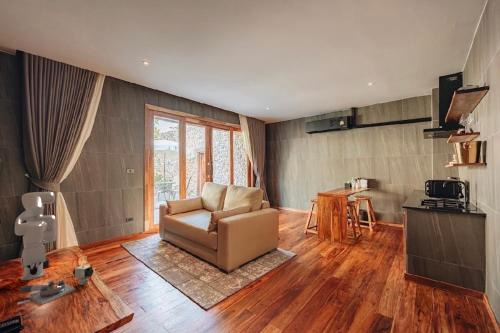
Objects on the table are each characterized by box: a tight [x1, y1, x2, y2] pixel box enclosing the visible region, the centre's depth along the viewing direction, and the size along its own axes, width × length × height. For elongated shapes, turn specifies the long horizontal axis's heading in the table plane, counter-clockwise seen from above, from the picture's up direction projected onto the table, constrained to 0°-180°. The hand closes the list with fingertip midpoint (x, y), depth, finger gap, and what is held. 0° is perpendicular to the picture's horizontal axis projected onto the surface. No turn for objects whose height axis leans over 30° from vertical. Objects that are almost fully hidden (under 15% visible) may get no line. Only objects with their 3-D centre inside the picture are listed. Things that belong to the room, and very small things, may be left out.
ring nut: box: [20, 279, 66, 296], centre depth 129 cm, size 22×11×4 cm, turn 100°
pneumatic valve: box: [72, 264, 95, 286], centre depth 142 cm, size 6×12×12 cm, turn 78°
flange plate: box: [16, 283, 76, 306], centre depth 127 cm, size 16×22×2 cm
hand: (33, 274), depth 132 cm, fingers closed
